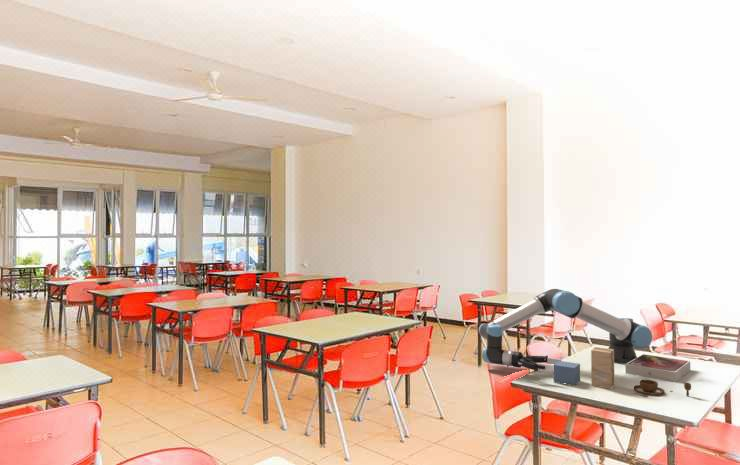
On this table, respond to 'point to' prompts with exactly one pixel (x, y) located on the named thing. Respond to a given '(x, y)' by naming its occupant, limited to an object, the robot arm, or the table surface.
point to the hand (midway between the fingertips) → (557, 365)
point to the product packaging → (658, 367)
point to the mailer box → (602, 367)
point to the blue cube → (567, 372)
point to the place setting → (654, 388)
